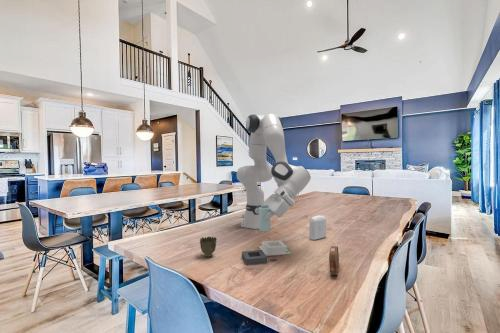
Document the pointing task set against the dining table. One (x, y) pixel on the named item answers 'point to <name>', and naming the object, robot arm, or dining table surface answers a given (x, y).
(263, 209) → the plug
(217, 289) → the dining table surface
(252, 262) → the holster
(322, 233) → the photo printer
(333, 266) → the tin
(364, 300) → the dining table surface
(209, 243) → the cup
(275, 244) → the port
